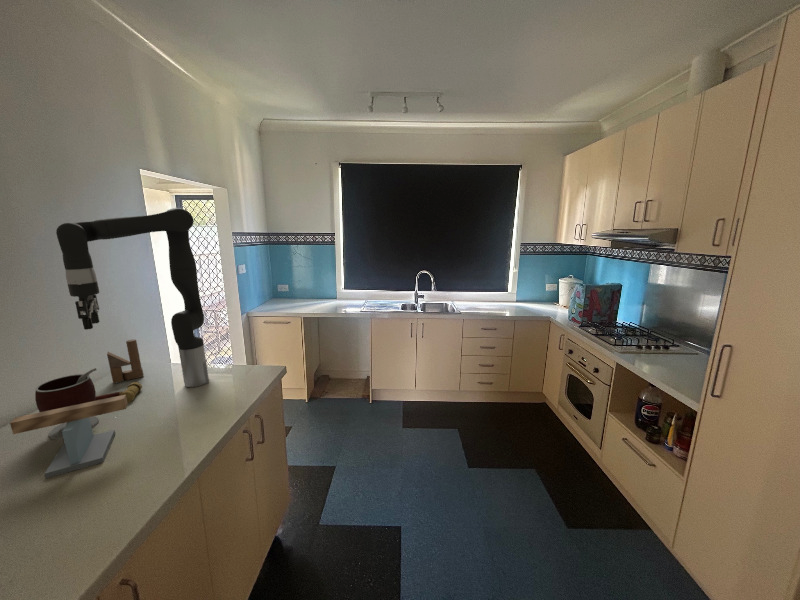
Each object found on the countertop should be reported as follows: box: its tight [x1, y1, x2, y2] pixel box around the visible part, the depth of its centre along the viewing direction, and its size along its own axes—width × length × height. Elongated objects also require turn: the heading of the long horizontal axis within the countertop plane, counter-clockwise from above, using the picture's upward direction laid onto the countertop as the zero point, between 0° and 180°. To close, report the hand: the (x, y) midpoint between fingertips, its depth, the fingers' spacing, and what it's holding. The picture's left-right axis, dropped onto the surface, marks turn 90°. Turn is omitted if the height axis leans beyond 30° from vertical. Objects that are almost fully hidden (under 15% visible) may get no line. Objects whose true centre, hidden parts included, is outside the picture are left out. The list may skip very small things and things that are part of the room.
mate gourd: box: [34, 367, 100, 440], centre depth 109 cm, size 16×14×20 cm
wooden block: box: [106, 338, 144, 384], centre depth 146 cm, size 4×11×18 cm, turn 129°
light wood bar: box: [9, 395, 129, 435], centre depth 95 cm, size 24×3×4 cm, turn 121°
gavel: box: [95, 381, 143, 403], centre depth 129 cm, size 21×5×10 cm
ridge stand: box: [43, 418, 116, 479], centre depth 97 cm, size 12×16×12 cm
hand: (92, 326), depth 116 cm, fingers open, 8 cm apart
